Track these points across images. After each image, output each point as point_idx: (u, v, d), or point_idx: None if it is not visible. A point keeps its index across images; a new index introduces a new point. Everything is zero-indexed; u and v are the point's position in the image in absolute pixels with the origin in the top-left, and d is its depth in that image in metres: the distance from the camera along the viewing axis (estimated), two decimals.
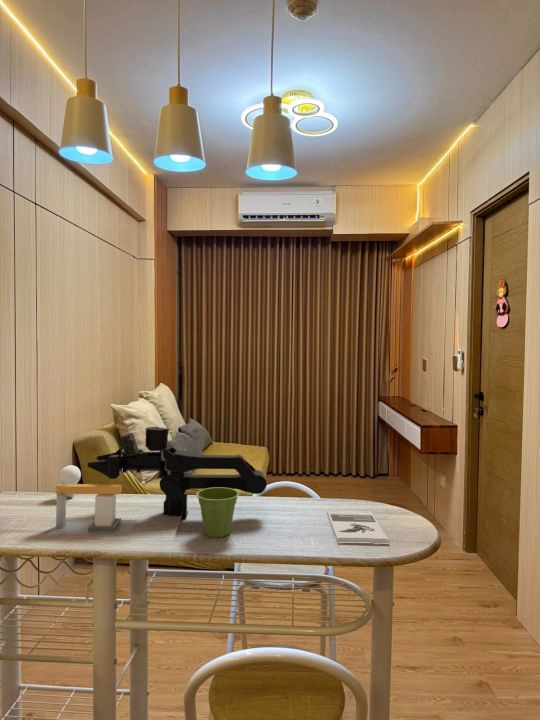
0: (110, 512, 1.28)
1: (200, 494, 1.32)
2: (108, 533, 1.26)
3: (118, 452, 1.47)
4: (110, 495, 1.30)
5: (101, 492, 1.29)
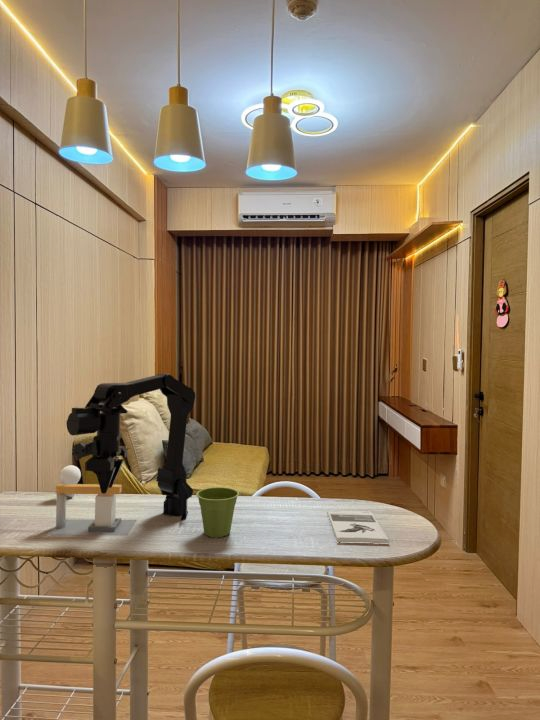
0: (110, 512, 1.28)
1: (200, 494, 1.32)
2: (108, 533, 1.26)
3: None
4: (110, 495, 1.30)
5: None
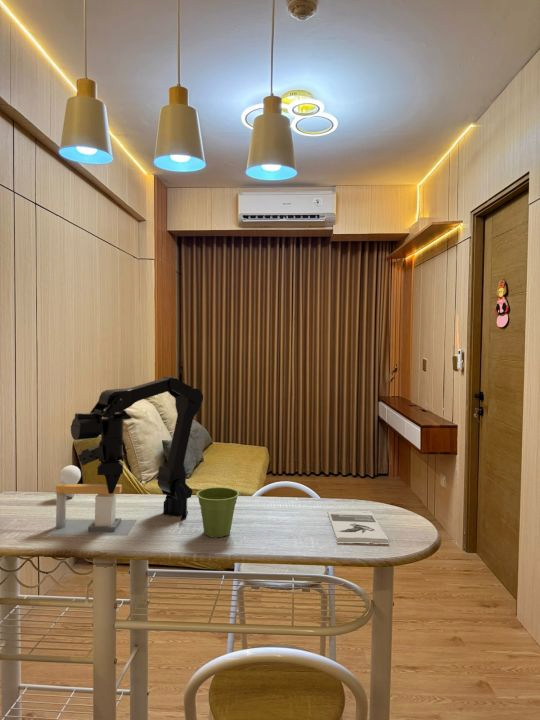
0: (110, 512, 1.28)
1: (200, 494, 1.32)
2: (108, 533, 1.26)
3: None
4: (110, 495, 1.30)
5: (101, 492, 1.29)
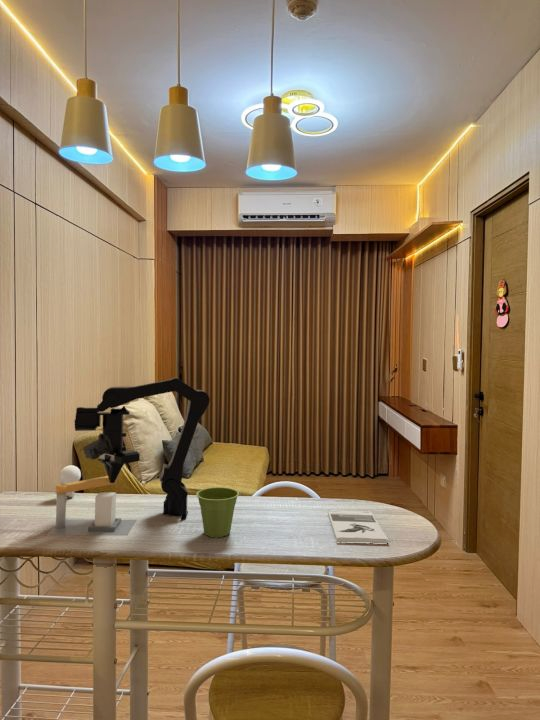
0: (110, 512, 1.28)
1: (200, 494, 1.32)
2: (108, 533, 1.26)
3: None
4: (110, 495, 1.30)
5: (101, 484, 1.37)
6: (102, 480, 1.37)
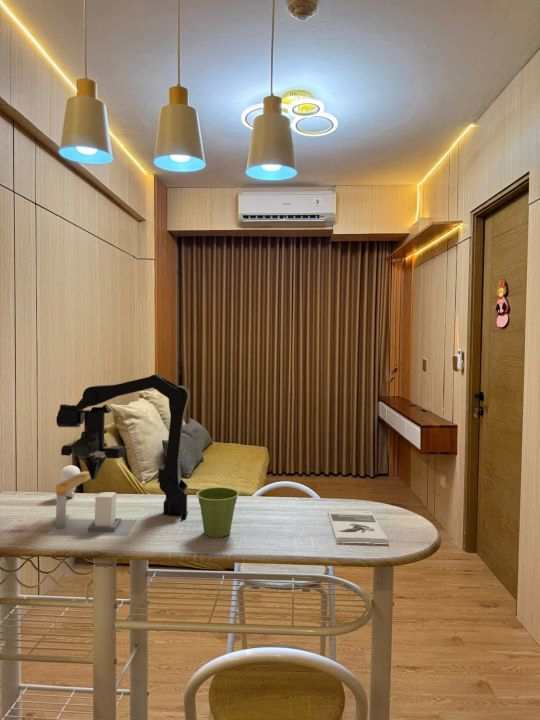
0: (110, 512, 1.28)
1: (200, 494, 1.32)
2: (108, 533, 1.26)
3: (88, 459, 1.40)
4: (110, 495, 1.30)
5: (83, 480, 1.41)
6: (84, 476, 1.41)
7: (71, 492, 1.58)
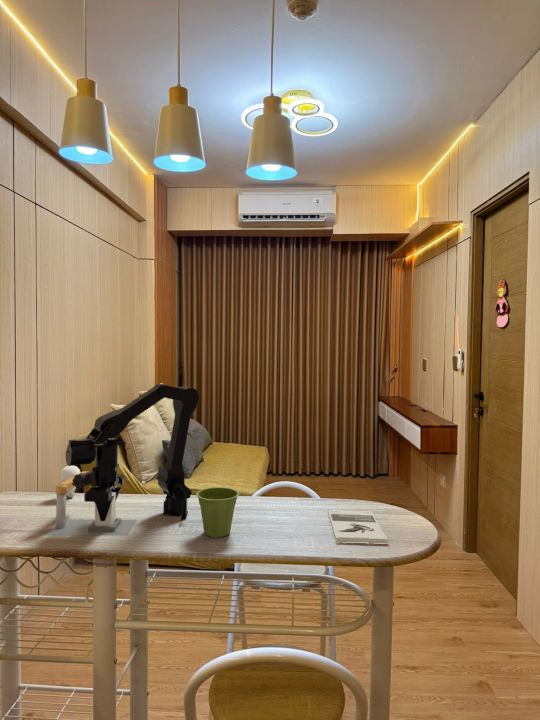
0: (110, 512, 1.28)
1: (200, 494, 1.32)
2: (108, 533, 1.26)
3: None
4: None
5: None
6: None
7: (71, 492, 1.58)
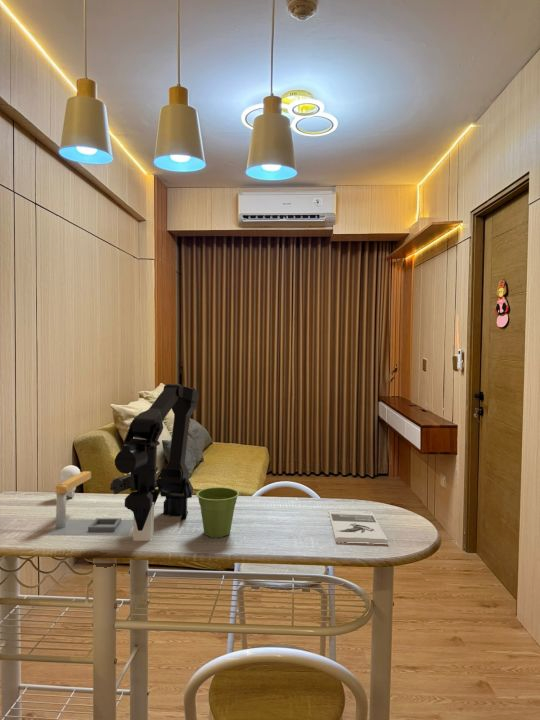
0: (149, 523, 1.22)
1: (200, 494, 1.32)
2: (108, 533, 1.26)
3: None
4: None
5: (83, 480, 1.41)
6: (84, 476, 1.41)
7: (71, 492, 1.58)
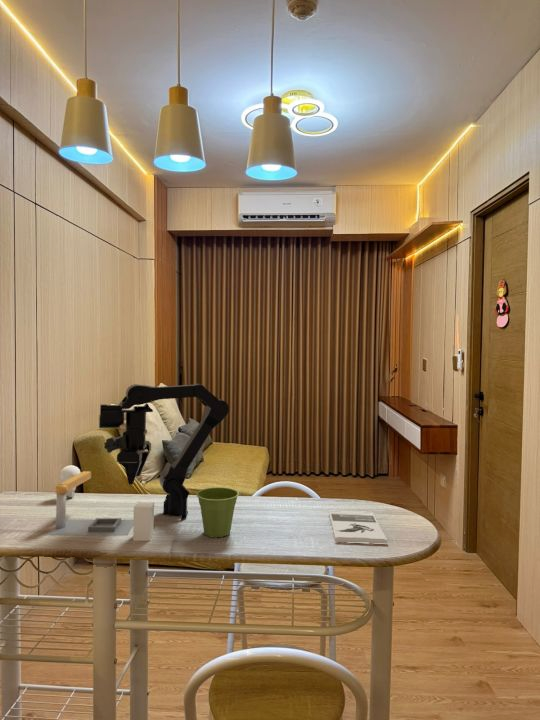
0: (149, 523, 1.22)
1: (200, 494, 1.32)
2: (108, 533, 1.26)
3: None
4: (149, 505, 1.23)
5: (83, 480, 1.41)
6: (84, 476, 1.41)
7: (71, 492, 1.58)
